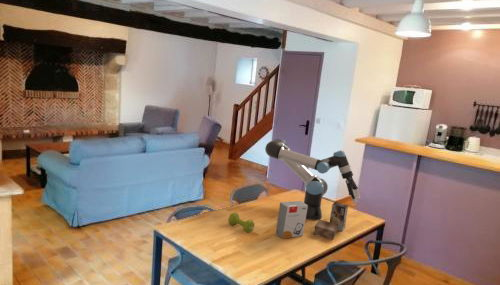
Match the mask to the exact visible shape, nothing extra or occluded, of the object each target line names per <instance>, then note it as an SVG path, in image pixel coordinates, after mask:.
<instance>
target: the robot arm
mask: <svg viewBox="0 0 500 285" xmlns="http://www.w3.org/2000/svg"><path fill="white" fill-rule="evenodd" d="M264 148H265V153H266V155H267V156H268V157H270V158H273V159H276V160H278V161H282V162H284V163H285V165H286V166H287V167H288V168H289V169H291V171H292V172H293V173H295V175H296V176H297V177H298V178H299V179H301V181H302V182H303V183H304V186H305V193H304V200H303V203H305V204H307V205H308V208H307V214H306V220H307V219H308V220H312V221H313V220H314V221H316V220H318V221H319V219H320V220H322V217H323V214H322V206H321V205H322V200H323V196H325V194H326V193H327V192H328V189H329V188H328V187H329V186H328V183H327V181H326V180H325V179H323V178H320V176H318V175H317V174H313V173H312V172H311V171H310V170H309V169H311V170H315V171H317V172H318V173H319V174H325V173H327V172H328V171H330V169H332V168H334V167H337V168H338V170H339V172H340V174H341V177H342V179H343V180H345V183H346V187H347V191H348V195H349V196H350V197H351V201H352V203H353V205H355V204H358V199H361V195H360V193H359V190H358V189H359V186H358V185H357V184H356V182H355V181H354V178H353V176H354V173H353V171H352V169H351V167H352V166H351V165H350V163H349V161H348V157H347V155H346V153H345V151H344V149H340V150H338V151H335V152H333V155H332V156H329V157H326V158H323V159H318V158H316V157H313V156H310V155H306V154H303V153H300V152H297V151H294V150H291V149H290V147H289V146H288V144H287V142H286V141H285V140H284V139H280V138H276V139H274V140H272V141H269V142H267V143H266V145H265V147H264ZM308 168H309V169H308Z"/></svg>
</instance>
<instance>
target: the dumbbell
mask: <svg viewBox="0 0 500 285" xmlns="http://www.w3.org/2000/svg"><path fill="white" fill-rule="evenodd" d="M228 223H229V225H231V226H234V225H237V224H238V225H240V226H242V227H243V231H244V232H245V233H251V232H253V230H254V228H255V222H254V220H252V219H247V220H245V221H244V220H243V219H241V218H240V215H239V213H238V212H232V213H230V215H229V216H228Z"/></svg>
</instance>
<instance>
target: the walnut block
mask: <svg viewBox="0 0 500 285" xmlns="http://www.w3.org/2000/svg"><path fill="white" fill-rule="evenodd" d="M337 228H338V224H335V223H331V222H330V221H327V220H323V219H318V221H317V222H316V224H315V226H314V229H313V235H314V236H317V237H321V238H324V239H329V240H332V241H333V240H334V239H335V237H336V235H337V232H338V230H337Z"/></svg>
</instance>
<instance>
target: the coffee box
mask: <svg viewBox="0 0 500 285" xmlns="http://www.w3.org/2000/svg"><path fill="white" fill-rule="evenodd" d="M348 210H349V205H348V204H344V203H341V202H337V201H334V202H333V203H332V204H331V212H330V219H329V222H331V223H335V224H338V228H337V231H339V232H343V231H344V230H345V228H346V222H347V216H348Z"/></svg>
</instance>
